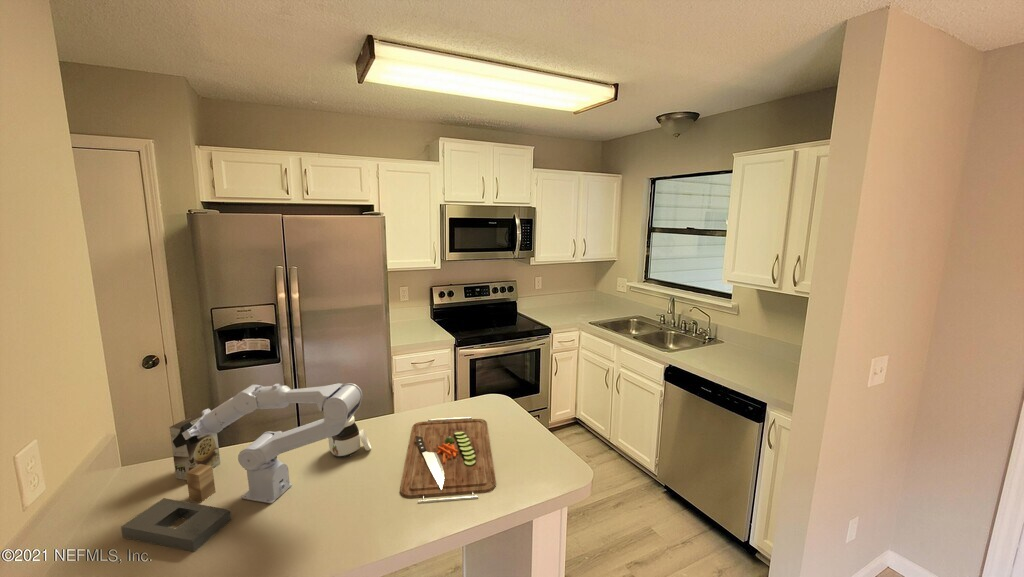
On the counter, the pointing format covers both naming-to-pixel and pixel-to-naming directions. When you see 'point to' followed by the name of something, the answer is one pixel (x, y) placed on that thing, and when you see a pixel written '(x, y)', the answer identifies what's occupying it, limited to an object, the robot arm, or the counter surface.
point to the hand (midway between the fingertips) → (188, 437)
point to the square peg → (200, 482)
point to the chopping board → (448, 459)
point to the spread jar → (348, 441)
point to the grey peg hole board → (186, 536)
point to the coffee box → (194, 450)
